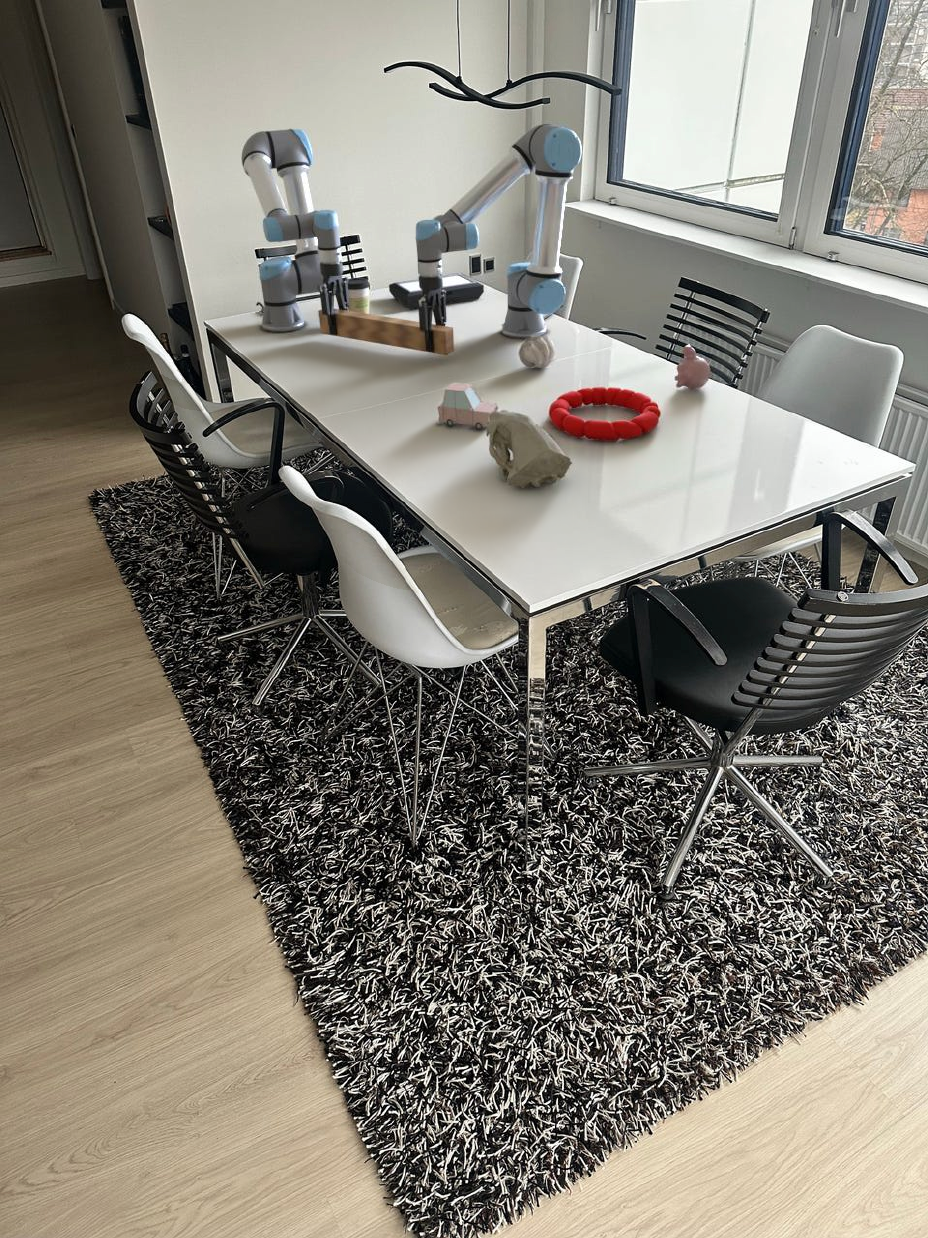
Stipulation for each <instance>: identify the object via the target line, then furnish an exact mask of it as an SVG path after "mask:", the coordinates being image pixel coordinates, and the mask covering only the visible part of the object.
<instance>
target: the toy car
mask: <svg viewBox="0 0 928 1238" xmlns="http://www.w3.org/2000/svg"><path fill="white" fill-rule="evenodd" d="M498 409H499V404H498V403H497V402H490V401H489V402H487V401H483V397H481V396H480V395H479V394H478V393H477V391H476V390H475V389H474V386H472V384H469V383H459V382H451V383H450V384H449V385H448V386H447V387H446V388H445V389H444V394H443V399H442V403H440V404H439V405H438V406H437V413H438V421H439V422H443V423H446V425H447V426H448V427H452V426H454V425H455V424H461V425H469V426H473V427H475V429H476V430H479V431H480V430H481V429H483V428H485V427H486V428H487V423H488V422H490V414H491V413H492V412H496V411H499V410H498Z"/></svg>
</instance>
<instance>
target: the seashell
mask: <svg viewBox="0 0 928 1238" xmlns="http://www.w3.org/2000/svg"><path fill="white" fill-rule="evenodd" d="M555 355H556V350H555V345H554V343H553V341H552V339H550V338H549V337H548V336H544V335H542V336H532V337H531V338H524V340H523V342H522V343H521V344H520V347H519V350H518V356H519V357H518V358H519V361H520V362H521V363H522V364H523V365H524V366H525V367H527V368H530V369H533V368H535V367H536V368H539V369H542V368H546V367H548V366H549V365H550V364H551V362H552V360H553V359H554V357H555Z"/></svg>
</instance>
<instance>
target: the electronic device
mask: <svg viewBox="0 0 928 1238" xmlns="http://www.w3.org/2000/svg"><path fill="white" fill-rule="evenodd" d="M442 276H443V287H442V288H440V289H441V290H443V291H446V305H447V304H454V303H461V302H469V301H473V300H479V299H480V298H481V297H482V295H483V294H484V292H485V289H484V288H485V285H484V284H482V283H480V282H479V281H477V280H476V279H473V278H471V277H469V276H468V275H465V274H463V273H455V274H448V275H442ZM388 290H389V291H388V292H389V293H390V295H392V297H393V298H394V300H395V301H397V302H399V303H400V304H402V305H404V306H405V307H407V308H408V309H409V310H413V309H418V305H417V300H421V298H422V292H423V291H422V289H420V287H419V279H412V280H406V281H405V280H404V281H397V282H393V283H390V284H388Z"/></svg>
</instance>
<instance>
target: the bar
mask: <svg viewBox="0 0 928 1238" xmlns="http://www.w3.org/2000/svg"><path fill="white" fill-rule="evenodd" d="M334 315H335V317H336V326H337V335H331V334H330V330H329V325H328V319H327V316H326V315H323V314H322V309H319V310H318V319H319V320H318V321H319V328H320V334H322V335H328V336H333V337H340V338H344V339H351V340H357V341H360V342H361V341H362V342H367V343H372V344H379V345H384V346H385V345H386V346H390V347H396V348H402V349H408V350H413V351H417V352H424V353H430V354H437V355H441V356H449V355H450V354H452V353H454V352H455V341H454V340H455V339H454V337H455V336H454V327H452V326H447V325H445V326H441V325H436V324H435V323H432V329H431V331H433V338H434V352H428V351H426V342H425V333H424V331H420V325H419V321H417V320H416V321H415V320H409V319H403V318H397V317H390V316H383V315H377V314H371V313H369V314H365V313H359V312H353V311H346V310H340V309H339V308H334Z"/></svg>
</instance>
